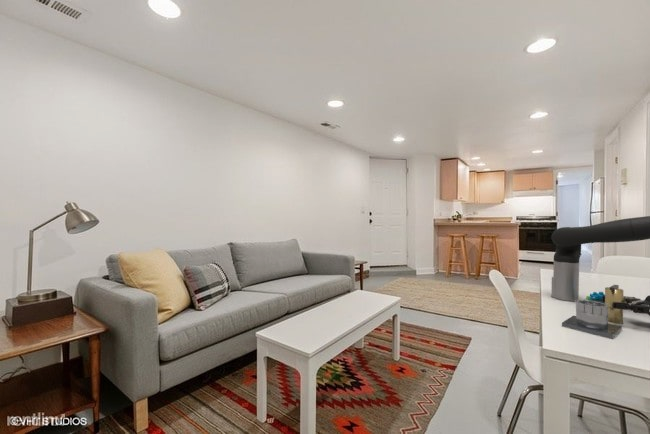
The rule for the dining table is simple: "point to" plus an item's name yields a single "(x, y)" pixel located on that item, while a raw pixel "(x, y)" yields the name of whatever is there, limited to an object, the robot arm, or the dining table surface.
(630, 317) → the dining table surface
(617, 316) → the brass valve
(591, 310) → the pipe socket
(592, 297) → the gear
